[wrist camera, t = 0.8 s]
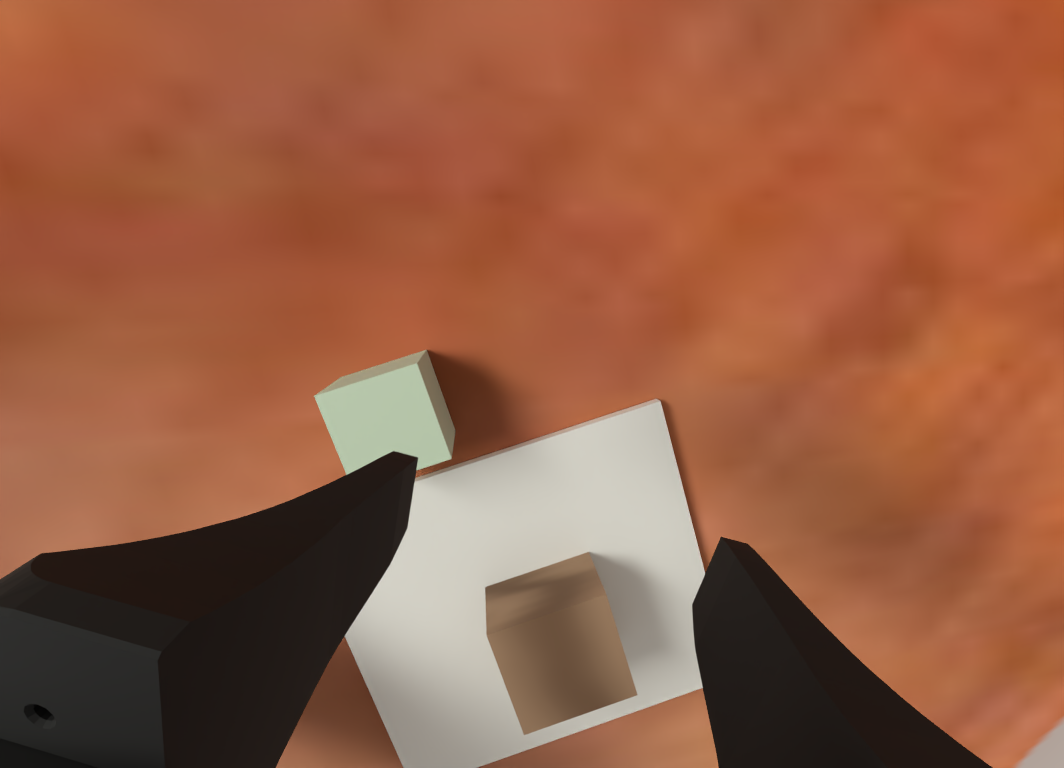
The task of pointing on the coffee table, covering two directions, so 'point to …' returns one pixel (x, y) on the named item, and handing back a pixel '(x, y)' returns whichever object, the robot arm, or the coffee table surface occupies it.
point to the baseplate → (520, 547)
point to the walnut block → (557, 643)
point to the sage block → (389, 413)
